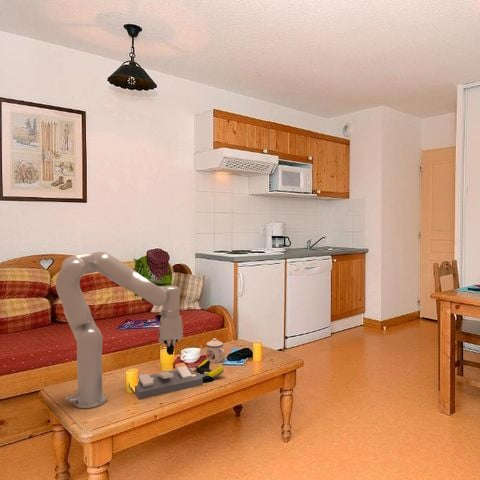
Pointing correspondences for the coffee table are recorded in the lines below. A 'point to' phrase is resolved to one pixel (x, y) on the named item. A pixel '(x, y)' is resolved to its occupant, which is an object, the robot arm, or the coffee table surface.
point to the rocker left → (145, 378)
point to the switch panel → (167, 384)
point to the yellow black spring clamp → (205, 370)
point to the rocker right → (183, 370)
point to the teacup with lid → (215, 351)
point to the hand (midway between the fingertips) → (170, 354)
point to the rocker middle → (164, 374)
